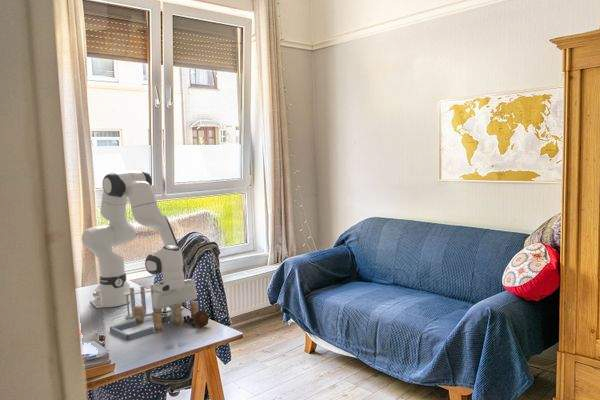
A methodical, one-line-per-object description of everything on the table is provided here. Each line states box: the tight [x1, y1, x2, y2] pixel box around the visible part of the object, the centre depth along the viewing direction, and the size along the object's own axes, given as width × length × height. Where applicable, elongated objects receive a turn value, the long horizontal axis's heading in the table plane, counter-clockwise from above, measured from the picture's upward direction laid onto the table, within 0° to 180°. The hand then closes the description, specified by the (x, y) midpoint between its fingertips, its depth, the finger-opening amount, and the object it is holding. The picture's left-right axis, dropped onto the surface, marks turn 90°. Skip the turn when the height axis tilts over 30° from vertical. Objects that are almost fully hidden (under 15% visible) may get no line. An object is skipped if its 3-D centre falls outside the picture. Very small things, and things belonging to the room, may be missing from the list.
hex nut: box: [161, 312, 172, 325], centre depth 204 cm, size 6×5×3 cm
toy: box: [181, 309, 210, 329], centre depth 199 cm, size 10×7×15 cm
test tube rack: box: [123, 283, 184, 320], centre depth 217 cm, size 25×4×13 cm, turn 114°
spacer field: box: [134, 300, 200, 333], centre depth 206 cm, size 19×21×7 cm
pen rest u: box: [109, 319, 154, 341], centre depth 194 cm, size 15×11×2 cm
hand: (176, 314), depth 209 cm, fingers closed
